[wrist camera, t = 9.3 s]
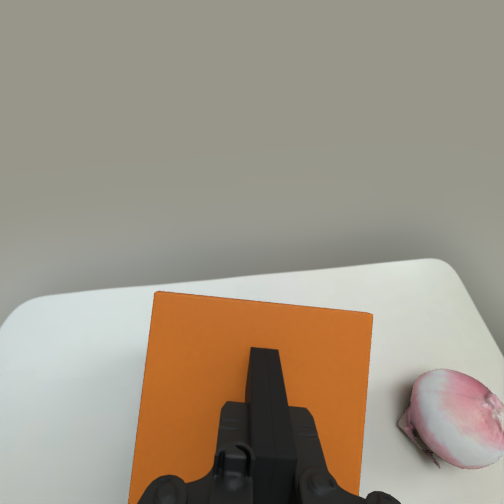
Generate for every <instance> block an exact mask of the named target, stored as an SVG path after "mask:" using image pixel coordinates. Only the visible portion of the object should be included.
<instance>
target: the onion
mask: <svg viewBox="0 0 504 504" xmlns="http://www.w3.org/2000/svg"><path fill="white" fill-rule="evenodd" d="M398 425H399V426H400V427H401V429H402V430H403V431H404V432H405V433H406V434H407V435H408V436H409V437H410V438H411V439H412V440H413V441H414V442H415V437H418V436H417V435H416V433H415V431H414V429H415V428H416V429H417V432H418V434H419V435H420V437H421V439H422V440H423V441H424V443H425V444H426V445H427V446H428V448H429V449H431V450H432V451H433V452H434V453H435V454H437V455H438V456H439V457H440V458H442V459H443V460H445V461H447V462H449V463H450V464H452V465H455V466H457V467H459V468H463V469H464V468H465V469H480V468H483V467H486V466H489V465H491V464H493V463H495V462H497V461H498V460H499V459H500V458H501V457H502V456H503V455H504V405H503V403H502V402H501V401H500V400H499V398H498V397H497V396H496V395H495V394H493V393H492V392H491V391H490V390H489V389H488V388H487V387H486V386H485V385H483V384H482V383H481V382H479V381H478V380H476V379H474V378H473V377H471V376H468V375H466V374H463V373H460V372H457V371H453V370H448V369H435V370H431V371H428V372H426V373H424V374H423V375H421V376H420V377H419V378H418V379H417V380H416V382H415V383H414V385H413V390H412V395H411V401H410V403H409V405H408V407H407V408H406V410H405V412H404V414H403V416H402V417H401V419H400V421H399V423H398ZM415 443H416V442H415ZM416 444H417V445H418V446H419V447H420V448H422V447H421V446H420V445H419V444H418V443H416ZM422 449H423V448H422ZM422 451H423V452H424V453H425V454H426V455H427V456H428V457H429V458H430V459H431V460H432V461H433V462H434V463H435V464H436V465H437V466H438V467H439V464H438V462H437V461H436V459H435V458H434V457H433V455H432V454H433V452H430V451H429V450H426V449H425V450H424V449H423V450H422ZM431 453H432V454H431ZM439 468H440V467H439Z"/></svg>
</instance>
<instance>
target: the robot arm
mask: <svg viewBox="0 0 504 504" xmlns="http://www.w3.org/2000/svg"><path fill="white" fill-rule="evenodd" d="M137 504H401V503H400V502H399V501H398V500H397V499H395V498H394V497H392V496H391V495H389V494H387V493H384V492H382V491H373V492H371V493H369V494H368V496H367V497H366V499H364V498H362V497H359V496H357V495H354V494H352V493H350V492H348V491H346V490H344V489H343V488H341V487H340V486H339V485H338V484H337V482H336V480H335V478H334V477H333V476H332V475H331V474H330V473H329V471H328V468H327V465H326V461H325V458H324V454H323V450H322V447H321V443H320V439H319V438H318V432H317V429H316V425H315V421H314V418H313V416H312V414H311V413H310V412H309V410H308V409H307V408H306V407H295V406H288V401H287V395H286V389H285V383H284V378H283V372H282V366H281V361H280V355H279V350H278V349H268V348H258V347H251V349H250V357H249V364H248V372H247V380H246V388H245V403H244V402H233V401H226V403H225V404H224V406H223V407H222V408H221V413H220V421H219V429H218V437H217V445H216V452H215V455H214V464H213V467H212V468H211V470H210V471H209V473H208V474H207V475H205V476H204V477H202V478H201V479H198V480H196V481H192V482H188V483H185V482H184V480H183V479H181V478H180V477H178V476H176V475H169V474H168V475H164V476H160V477H158V478H156V479H155V480H153V481H152V482H151V483H150V484H149V486H148V487H147V488H146V489H145V491H144V493H143V494H142V496H141V498H140V499H139V501H138V503H137Z"/></svg>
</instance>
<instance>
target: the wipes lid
mask: <svg viewBox="0 0 504 504" xmlns="http://www.w3.org/2000/svg"><path fill="white" fill-rule="evenodd" d="M372 324H373V314H370V313H367V312H358V311H349V310H339V309H329V308H319V307H310V306H300V305H290V304H281V303H271V302H261V301H252V300H242V299H232V298H222V297H213V296H203V295H193V294H184V293H174V292H164V291H157V292H155V293H154V300H153V308H152V316H151V324H150V332H149V340H148V348H147V356H146V364H145V372H144V379H143V387H142V395H141V403H140V411H139V419H138V427H137V435H136V443H135V451H134V459H133V467H132V475H131V483H130V491H129V499H128V504H137V503H138V501H139V499H140V498H141V496H142V494H143V493H144V491H145V489H146V488H147V487H148V486H149V484H150V483H151V482H152V481H153V480H155V479H156V478H158V477H160V476H164V475H168V474H169V475H176V476H178V477H180V478H181V479H183V480H184V482H185V483H188V482H192V481H196V480H198V479H201V478H202V477H204V476H205V475H207V474H208V473H209V471H210V470H211V468H212V467H213V464H214V455H215V452H216V445H217V437H218V429H219V421H220V413H221V408H222V407H223V406H224V404H225V403H226V401H233V402H244V403H245V388H246V380H247V372H248V364H249V357H250V349H251V347H258V348H268V349H278V350H279V355H280V361H281V366H282V372H283V378H284V383H285V389H286V395H287V401H288V406H295V407H306V408H307V409H308V410H309V412H310V413H311V414H312V416H313V418H314V421H315V425H316V429H317V432H318V438H319V439H320V443H321V447H322V450H323V454H324V458H325V461H326V465H327V468H328V471H329V473H330V474H331V475H332V476H333V477H334V478H335V480H336V482H337V484H338V485H339V486H340V487H341V488H343V489H344V490H346V491H348V492H350V493H352V494H354V495H357V496H359V486H360V473H361V461H362V448H363V436H364V424H365V411H366V399H367V386H368V374H369V361H370V349H371V337H372Z"/></svg>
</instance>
